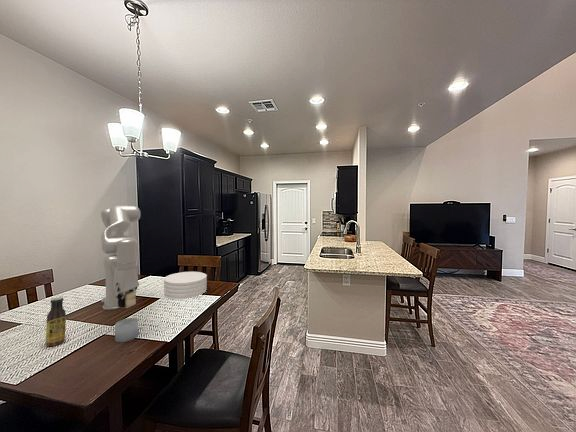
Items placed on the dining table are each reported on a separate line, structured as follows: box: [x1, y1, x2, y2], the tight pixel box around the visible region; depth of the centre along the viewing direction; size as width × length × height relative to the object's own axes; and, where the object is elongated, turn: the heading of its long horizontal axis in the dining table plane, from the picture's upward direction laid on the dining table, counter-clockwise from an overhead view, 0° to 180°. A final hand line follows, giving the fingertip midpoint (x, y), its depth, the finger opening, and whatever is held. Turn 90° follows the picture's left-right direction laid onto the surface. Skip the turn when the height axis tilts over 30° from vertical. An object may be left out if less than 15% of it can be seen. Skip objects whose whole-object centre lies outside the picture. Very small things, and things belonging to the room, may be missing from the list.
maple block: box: [119, 290, 137, 309], centre depth 114 cm, size 5×5×6 cm
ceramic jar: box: [114, 317, 139, 343], centre depth 114 cm, size 9×9×7 cm
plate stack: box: [163, 271, 208, 300], centre depth 174 cm, size 28×28×12 cm
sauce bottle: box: [45, 296, 67, 347], centre depth 108 cm, size 7×6×20 cm
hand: (126, 304), depth 114 cm, fingers closed on maple block, 5 cm apart
